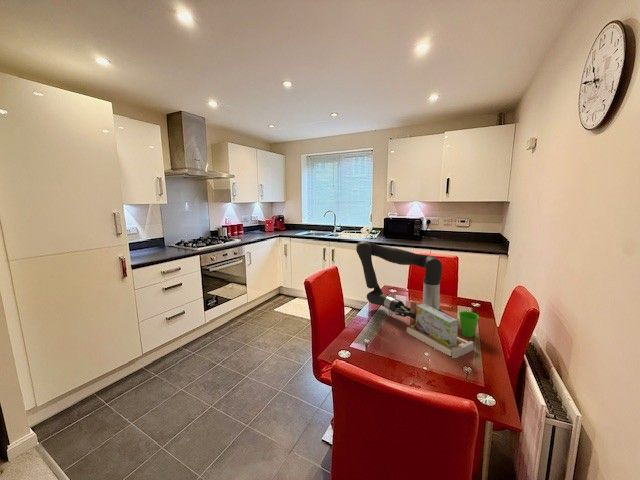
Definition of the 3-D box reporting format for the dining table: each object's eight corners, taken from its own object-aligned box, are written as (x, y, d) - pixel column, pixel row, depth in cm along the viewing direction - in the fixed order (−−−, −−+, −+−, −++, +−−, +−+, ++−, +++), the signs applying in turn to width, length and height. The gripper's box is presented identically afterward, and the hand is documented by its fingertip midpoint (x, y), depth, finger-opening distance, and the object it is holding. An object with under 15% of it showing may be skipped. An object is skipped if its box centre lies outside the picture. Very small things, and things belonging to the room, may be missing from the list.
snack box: (414, 331, 140) (415, 304, 137) (423, 329, 142) (424, 302, 140) (448, 353, 121) (450, 322, 118) (457, 349, 123) (459, 319, 120)
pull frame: (417, 323, 148) (418, 299, 145) (466, 348, 123) (468, 320, 121) (403, 328, 143) (404, 304, 140) (452, 355, 118) (453, 326, 116)
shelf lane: (424, 326, 145) (424, 319, 145) (473, 350, 122) (473, 342, 121) (406, 333, 139) (406, 325, 138) (454, 360, 116) (455, 351, 115)
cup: (476, 342, 128) (478, 320, 127) (455, 336, 134) (457, 316, 132) (479, 334, 136) (480, 313, 134) (459, 329, 141) (460, 309, 139)
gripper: (384, 301, 151) (408, 312, 136) (402, 296, 157) (427, 306, 143) (384, 313, 152) (408, 326, 137) (402, 308, 159) (426, 319, 144)
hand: (417, 316), depth 140 cm, fingers closed on pull frame, 3 cm apart
